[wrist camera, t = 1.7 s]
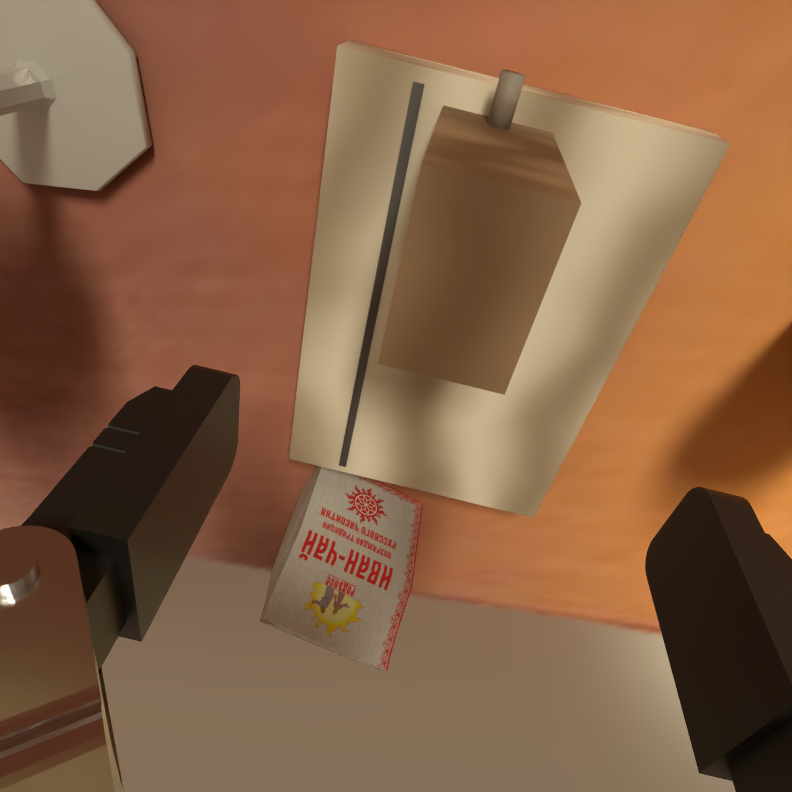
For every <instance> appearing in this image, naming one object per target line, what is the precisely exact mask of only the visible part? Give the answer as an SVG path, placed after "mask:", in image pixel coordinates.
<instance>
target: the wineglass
mask: <svg viewBox="0 0 792 792" xmlns="http://www.w3.org/2000/svg"><path fill="white" fill-rule="evenodd" d="M151 145H152V139H151V134H150V128H149V123H148V117H147V112H146V106H145V101H144V95H143V90H142V84H141V79H140V73H139V68H138V62H137V57H136V51H135V50H134V49H133V47H132V46H131V45H130V43H129V42H128V41H127V40H126V38H125V37H124V36H123V34H122V33H121V32H120V30H119V29H118V28H117V26H116V25H115V24H114V23H113V21H112V20H111V19H110V17H109V16H108V15H107V13H106V12H105V11H104V10H103V8H102V7H101V6H100V4H99V3H98V2H97V0H0V159H1V160H2V161H3V162H4V163H5V164H6V165H7V166H8V167H9V168H10V170H11V171H12V172H13V173H14V174H15V175H16V176H17V177H18V178H19V179H20V180H21V181H22V182H23V183H28V184H38V185H47V186H56V187H66V188H75V189H84V190H94V191H101V190H102V189H103V188H104V187H106V186H107V185H108V184H109V183H110V182H111V181H112V180H113V179H115V178H116V177H117V176H118V175H119V174H120V173H121V172H122V171H124V170H125V169H126V168H127V167H128V166H129V165H130V164H131V163H133V162H134V161H135V160H136V159H137V158H138V157H139V156H141V155H142V154H143V153H144V152H145V151H146V150H147V149H148V148H150V147H151Z"/></svg>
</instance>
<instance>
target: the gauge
mask: <svg viewBox="0 0 792 792" xmlns="http://www.w3.org/2000/svg"><path fill="white" fill-rule="evenodd" d="M524 80H525V75H523V74H520V73H517V72H513V71H509V70H501V74H500V77H499V81H498V84H497V88H496V92H495V95H494V99H493V103H492V106H491V110H490V114H489V117H488V116H484V115H480V114H476V113H472V112H468V111H464V110H460V109H456V108H452V107H448V106H444V105H443V107H442V110H441V113H440V116H439V118H438V121H437V124H436V126H435V129H434V132H433V134H432V137H431V140H430V142H429V145H428V148H427V150H426V153H425V156H424V158H423V161H422V164H421V169H420V173H419V178H418V182H417V187H416V191H415V196H414V201H413V205H412V210H411V214H410V219H409V223H408V228H407V232H406V237H405V242H404V246H403V251H402V255H401V260H400V264H399V269H398V274H397V278H396V283H395V287H394V292H393V296H392V301H391V306H390V310H389V315H388V319H387V324H386V328H385V333H384V337H383V342H382V347H381V351H380V356H379V360H378V364H381V365H385V366H389V367H393V368H397V369H401V370H405V371H409V372H413V373H417V374H421V375H426V376H430V377H434V378H438V379H442V380H446V381H450V382H454V383H458V384H462V385H466V386H471V387H475V388H479V389H483V390H487V391H491V392H495V393H499V394H503V395H505V393H506V390H507V388H508V385H509V383H510V380H511V378H512V375H513V373H514V370H515V368H516V365H517V363H518V360H519V358H520V355H521V353H522V350H523V348H524V345H525V343H526V340H527V338H528V335H529V333H530V330H531V328H532V325H533V323H534V320H535V318H536V315H537V313H538V310H539V308H540V305H541V303H542V300H543V298H544V295H545V293H546V290H547V288H548V285H549V283H550V280H551V278H552V275H553V273H554V270H555V268H556V265H557V263H558V260H559V258H560V255H561V253H562V250H563V248H564V245H565V243H566V240H567V238H568V235H569V233H570V230H571V228H572V225H573V223H574V220H575V218H576V215H577V213H578V210H579V208H580V205H581V201H580V198H579V196H578V194H577V191H576V189H575V186H574V184H573V181H572V179H571V177H570V174H569V172H568V169H567V167H566V164H565V162H564V159H563V157H562V155H561V152H560V150H559V147H558V145H557V142H556V140H555V138H554V135H553V133H552V132H548V131H544V130H540V129H536V128H532V127H528V126H524V125H520V124H516V123H512V120H513V117H514V113H515V110H516V107H517V103H518V100H519V97H520V93H521V90H522V86H523V83H524Z"/></svg>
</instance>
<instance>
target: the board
mask: <svg viewBox="0 0 792 792" xmlns="http://www.w3.org/2000/svg"><path fill="white" fill-rule="evenodd" d="M498 81H499V78H496V77H492V76H488V75H484V74H480V73H476V72H472V71H468V70H465V69H461V68H457V67H453V66H449V65H445V64H441V63H437V62H433V61H429V60H425V59H421V58H417V57H413V56H409V55H405V54H401V53H397V52H393V51H389V50H385V49H381V48H377V47H373V46H369V45H365V44H361V43H357V42H353V41H347V42H344V43H342V44H340V45H337V54H336V62H335V71H334V79H333V88H332V96H331V105H330V113H329V122H328V130H327V138H326V147H325V155H324V164H323V172H322V181H321V189H320V198H319V206H318V215H317V223H316V232H315V240H314V249H313V257H312V266H311V274H310V283H309V291H308V300H307V308H306V317H305V325H304V334H303V342H302V351H301V359H300V367H299V376H298V384H297V393H296V401H295V410H294V418H293V427H292V435H291V444H290V452H289V459H292V460H296V461H300V462H304V463H308V464H313V465H317V466H321V467H325V468H329V469H333V470H337V471H342V472H346V473H350V474H354V475H358V476H362V477H366V478H370V479H375V480H379V481H383V482H387V483H391V484H395V485H399V486H404V487H408V488H412V489H416V490H420V491H424V492H428V493H433V494H437V495H441V496H445V497H449V498H453V499H457V500H462V501H466V502H470V503H474V504H478V505H482V506H486V507H490V508H495V509H499V510H503V511H507V512H511V513H515V514H519V515H524V516H528V517H532V518H534V516H535V514H536V512H537V510H538V508H539V506H540V504H541V503H542V501H543V499H544V497H545V495H546V493H547V491H548V489H549V487H550V485H551V484H552V482H553V480H554V478H555V476H556V474H557V472H558V470H559V468H560V467H561V465H562V463H563V461H564V459H565V457H566V455H567V453H568V451H569V449H570V448H571V446H572V444H573V442H574V440H575V438H576V436H577V434H578V432H579V431H580V429H581V427H582V425H583V423H584V421H585V419H586V417H587V415H588V413H589V412H590V410H591V408H592V406H593V404H594V402H595V400H596V398H597V396H598V394H599V393H600V391H601V389H602V387H603V385H604V383H605V381H606V379H607V377H608V376H609V374H610V372H611V370H612V368H613V366H614V364H615V362H616V360H617V358H618V357H619V355H620V353H621V351H622V349H623V347H624V345H625V343H626V341H627V340H628V338H629V336H630V334H631V332H632V330H633V328H634V326H635V324H636V322H637V321H638V319H639V317H640V315H641V313H642V311H643V309H644V307H645V305H646V303H647V302H648V300H649V298H650V296H651V294H652V292H653V290H654V288H655V286H656V285H657V283H658V281H659V279H660V277H661V275H662V273H663V271H664V269H665V267H666V266H667V264H668V262H669V260H670V258H671V256H672V254H673V252H674V250H675V249H676V247H677V245H678V243H679V241H680V239H681V237H682V235H683V233H684V231H685V230H686V228H687V226H688V224H689V222H690V220H691V218H692V216H693V214H694V213H695V211H696V209H697V207H698V205H699V203H700V201H701V199H702V197H703V195H704V194H705V192H706V190H707V188H708V186H709V184H710V182H711V180H712V178H713V176H714V175H715V173H716V171H717V169H718V167H719V165H720V163H721V161H722V159H723V158H724V156H725V154H726V152H727V150H728V148H729V146H730V143H728V142H727V141H725V140H724V139H722V138H721V137H719V136H718V135H716V134H715V133H713V132H711V131H707V130H703V129H699V128H695V127H691V126H687V125H683V124H679V123H675V122H671V121H667V120H663V119H659V118H655V117H651V116H647V115H644V114H640V113H636V112H632V111H628V110H624V109H620V108H616V107H612V106H608V105H604V104H600V103H596V102H592V101H588V100H584V99H580V98H576V97H572V96H568V95H564V94H560V93H556V92H552V91H548V90H544V89H540V88H536V87H532V86H528V85H524V84H523V86H522V90H521V93H520V97H519V100H518V103H517V107H516V110H515V113H514V117H513V120H512V123H516V124H520V125H524V126H528V127H532V128H536V129H540V130H544V131H548V132H552V133H553V135H554V138H555V140H556V142H557V145H558V147H559V150H560V152H561V155H562V157H563V159H564V162H565V164H566V167H567V169H568V172H569V174H570V177H571V179H572V181H573V184H574V186H575V189H576V191H577V194H578V196H579V198H580V201H581V205H580V208H579V210H578V213H577V215H576V218H575V220H574V223H573V225H572V228H571V230H570V233H569V235H568V238H567V240H566V243H565V245H564V248H563V250H562V253H561V255H560V258H559V260H558V263H557V265H556V268H555V270H554V273H553V275H552V278H551V280H550V283H549V285H548V288H547V290H546V293H545V295H544V298H543V300H542V303H541V305H540V308H539V310H538V313H537V315H536V318H535V320H534V323H533V325H532V328H531V330H530V333H529V335H528V338H527V340H526V343H525V345H524V348H523V350H522V353H521V355H520V358H519V360H518V363H517V365H516V368H515V370H514V373H513V375H512V378H511V380H510V383H509V385H508V388H507V390H506V393H505V395H503V394H499V393H495V392H491V391H487V390H483V389H479V388H475V387H471V386H466V385H462V384H458V383H454V382H450V381H446V380H442V379H438V378H434V377H430V376H426V375H421V374H417V373H413V372H409V371H405V370H401V369H397V368H393V367H389V366H385V365H381V364H378V360H379V356H380V351H381V347H382V342H383V337H384V333H385V328H386V324H387V319H388V315H389V310H390V306H391V301H392V296H393V292H394V287H395V283H396V278H397V274H398V269H399V264H400V260H401V255H402V251H403V246H404V242H405V237H406V232H407V228H408V223H409V219H410V214H411V210H412V205H413V201H414V196H415V191H416V187H417V182H418V178H419V173H420V169H421V164H422V161H423V158H424V156H425V153H426V150H427V148H428V145H429V142H430V140H431V137H432V134H433V132H434V129H435V126H436V124H437V121H438V118H439V116H440V113H441V110H442V107H443V105H444V106H448V107H452V108H456V109H460V110H464V111H468V112H472V113H476V114H480V115H484V116H488V117H489V114H490V110H491V106H492V103H493V99H494V95H495V92H496V88H497V84H498Z"/></svg>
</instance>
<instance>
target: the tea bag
mask: <svg viewBox="0 0 792 792" xmlns="http://www.w3.org/2000/svg"><path fill="white" fill-rule="evenodd" d="M422 505H423V504H422V503H420V502H418V501H416V500H414V499H412V498H410V497H408V496H406V495H404V494H402V493H400V492H398V491H396V490H394V489H392V488H390V487H388V486H386V485H384V484H382V483H380V482H378V481H376V480H374V479H370V478H366V477H362V476H358V475H354V474H350V473H346V472H342V471H337V470H333V469H329V468H325V467H321V466H318V467H317V468H316V470H315V471H314V473H313V474H312V476H311V477H310V479H309V480H308V481H307V483H306V484H305V486H304V487H303V489H302V490H301V493H300V495H299V498H298V501H297V503H296V506H295V509H294V512H293V514H292V517H291V520H290V522H289V525H288V528H287V531H286V533H285V536H284V539H283V541H282V544H281V547H280V550H279V552H278V555H277V558H276V560H275V563H274V566H273V569H272V574H271V578H270V583H269V588H268V593H267V597H266V601H265V605H264V609H263V612H262V616H261V619H260V621H261V622H263V623H265V624H268V625H270V626H272V627H275V628H277V629H280V630H282V631H284V632H287V633H289V634H292V635H294V636H296V637H298V638H301V639H303V640H306V641H308V642H310V643H313V644H315V645H317V646H320V647H322V648H325V649H327V650H329V651H331V652H334V653H336V654H339V655H341V656H343V657H346V658H348V659H350V660H353V661H355V662H357V663H360V664H362V665H365V666H367V667H369V668H372V669H374V670H376V671H379V672H381V673H384V670H387V668H388V664H389V660H390V655H391V652H392V648H393V645H394V641H395V638H396V634H397V631H398V628H399V625H400V622H401V619H402V616H403V612H404V609H405V606H406V603H407V600H408V597H409V594H410V591H411V588H412V583H413V576H414V568H415V560H416V552H417V544H418V536H419V528H420V521H421V513H422Z"/></svg>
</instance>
